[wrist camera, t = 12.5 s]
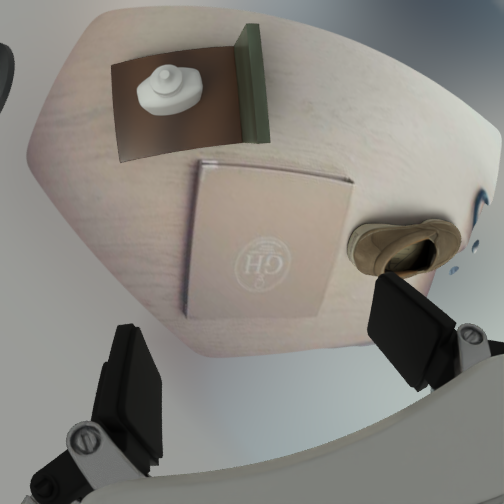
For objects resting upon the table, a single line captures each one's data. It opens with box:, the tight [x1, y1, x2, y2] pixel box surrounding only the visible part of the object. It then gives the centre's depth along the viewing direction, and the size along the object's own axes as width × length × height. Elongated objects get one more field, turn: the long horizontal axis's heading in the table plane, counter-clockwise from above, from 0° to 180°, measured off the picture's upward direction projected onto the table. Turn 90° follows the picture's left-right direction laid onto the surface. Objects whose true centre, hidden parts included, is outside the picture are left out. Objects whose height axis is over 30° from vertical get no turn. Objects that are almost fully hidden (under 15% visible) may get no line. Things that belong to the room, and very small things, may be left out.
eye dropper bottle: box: [137, 64, 203, 115], centre depth 20 cm, size 4×6×12 cm
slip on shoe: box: [347, 219, 461, 279], centre depth 42 cm, size 30×11×9 cm, turn 84°
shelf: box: [111, 24, 270, 163], centre depth 25 cm, size 15×12×12 cm
